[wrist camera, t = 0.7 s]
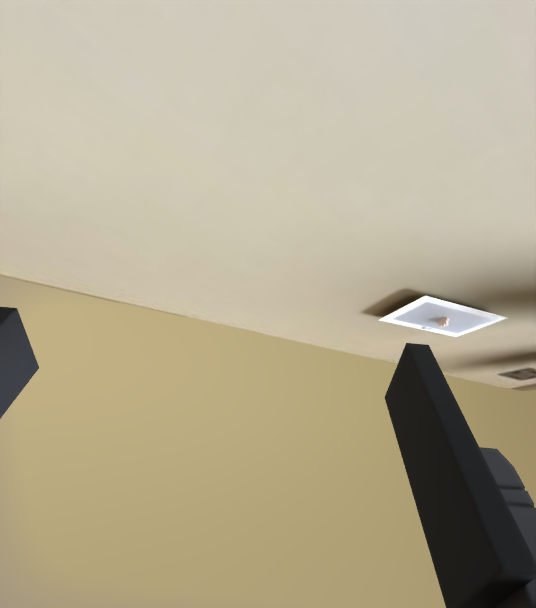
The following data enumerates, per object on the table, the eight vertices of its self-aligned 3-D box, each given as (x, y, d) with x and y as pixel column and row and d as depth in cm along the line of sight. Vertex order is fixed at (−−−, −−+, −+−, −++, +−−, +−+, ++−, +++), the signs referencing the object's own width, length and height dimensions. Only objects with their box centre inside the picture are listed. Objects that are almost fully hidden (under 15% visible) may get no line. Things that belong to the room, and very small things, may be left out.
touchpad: (423, 287, 43) (427, 304, 42) (505, 310, 49) (510, 325, 48) (377, 312, 49) (379, 327, 48) (454, 330, 55) (457, 343, 54)
